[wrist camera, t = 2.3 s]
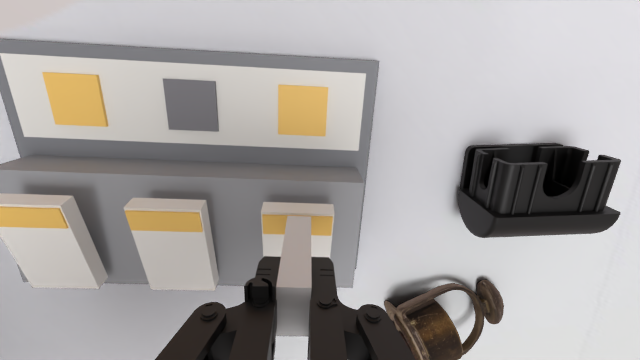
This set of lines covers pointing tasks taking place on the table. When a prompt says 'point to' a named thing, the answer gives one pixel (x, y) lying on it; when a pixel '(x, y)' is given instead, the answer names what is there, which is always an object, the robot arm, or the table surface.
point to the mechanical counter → (443, 321)
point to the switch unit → (189, 141)
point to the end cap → (535, 190)
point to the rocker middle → (174, 243)
